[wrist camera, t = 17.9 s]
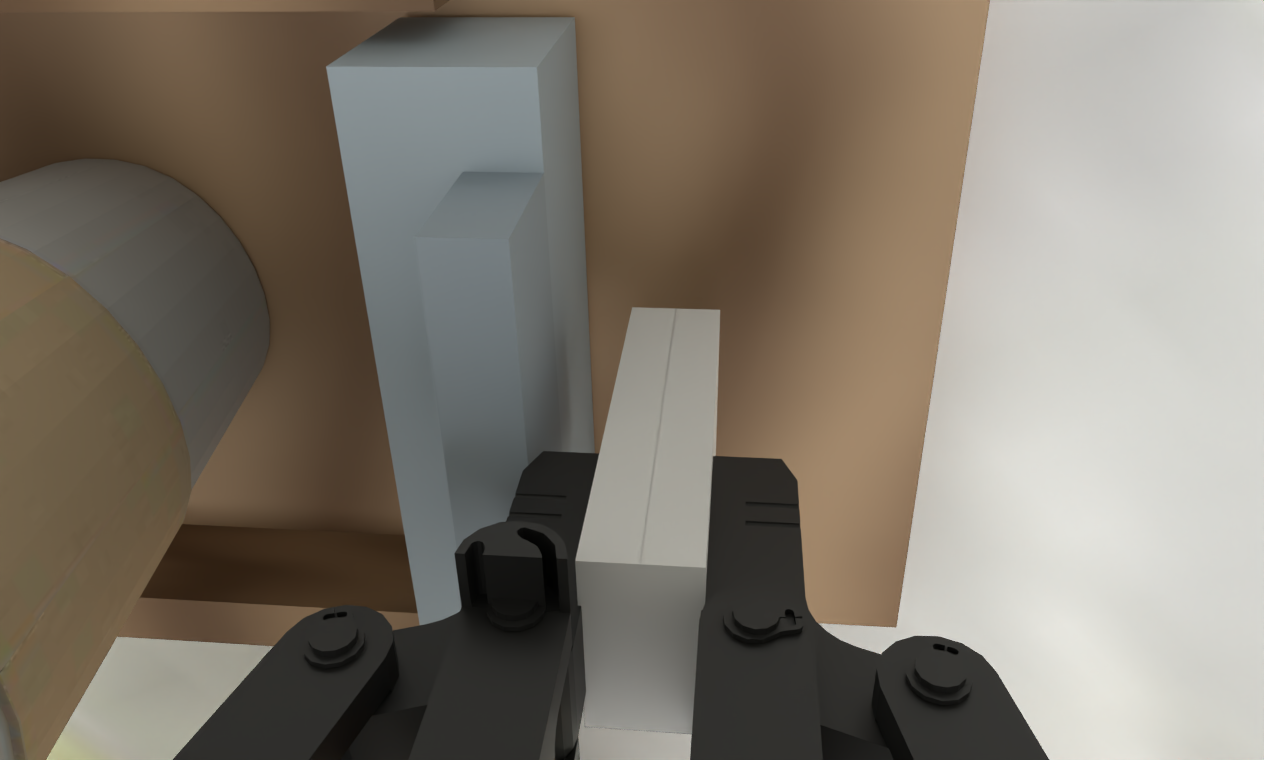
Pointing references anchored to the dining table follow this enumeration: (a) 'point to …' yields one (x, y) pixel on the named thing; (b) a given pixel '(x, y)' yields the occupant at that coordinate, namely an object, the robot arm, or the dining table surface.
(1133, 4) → the dining table surface
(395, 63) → the block
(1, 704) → the coffee cup
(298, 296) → the housing base
